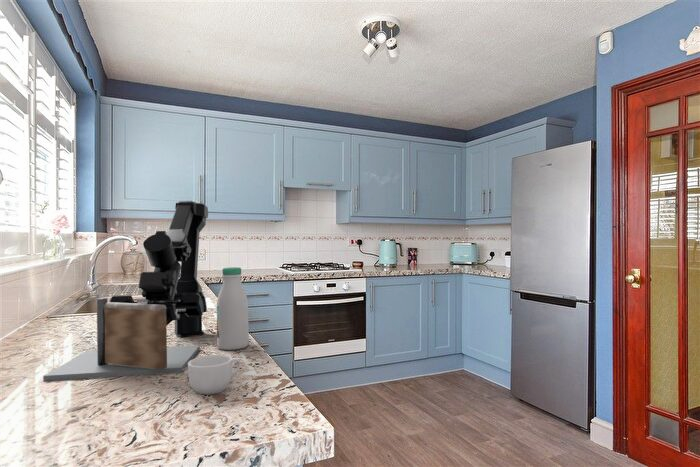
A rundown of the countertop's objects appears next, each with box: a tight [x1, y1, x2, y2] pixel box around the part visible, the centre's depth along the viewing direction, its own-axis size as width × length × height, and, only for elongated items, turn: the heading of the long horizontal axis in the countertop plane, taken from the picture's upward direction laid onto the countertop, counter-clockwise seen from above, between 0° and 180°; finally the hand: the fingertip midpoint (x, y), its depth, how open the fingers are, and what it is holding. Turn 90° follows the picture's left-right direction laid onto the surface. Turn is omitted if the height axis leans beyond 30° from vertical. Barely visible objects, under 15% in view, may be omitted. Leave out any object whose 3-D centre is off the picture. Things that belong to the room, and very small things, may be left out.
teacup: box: [187, 353, 241, 396], centre depth 76 cm, size 10×8×5 cm
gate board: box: [42, 344, 201, 382], centre depth 93 cm, size 26×18×1 cm
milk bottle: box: [216, 266, 250, 351], centre depth 106 cm, size 8×8×20 cm
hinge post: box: [96, 297, 109, 365], centre depth 89 cm, size 2×2×14 cm
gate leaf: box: [104, 301, 168, 370], centre depth 86 cm, size 15×2×13 cm, turn 71°
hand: (148, 339), depth 87 cm, fingers closed
